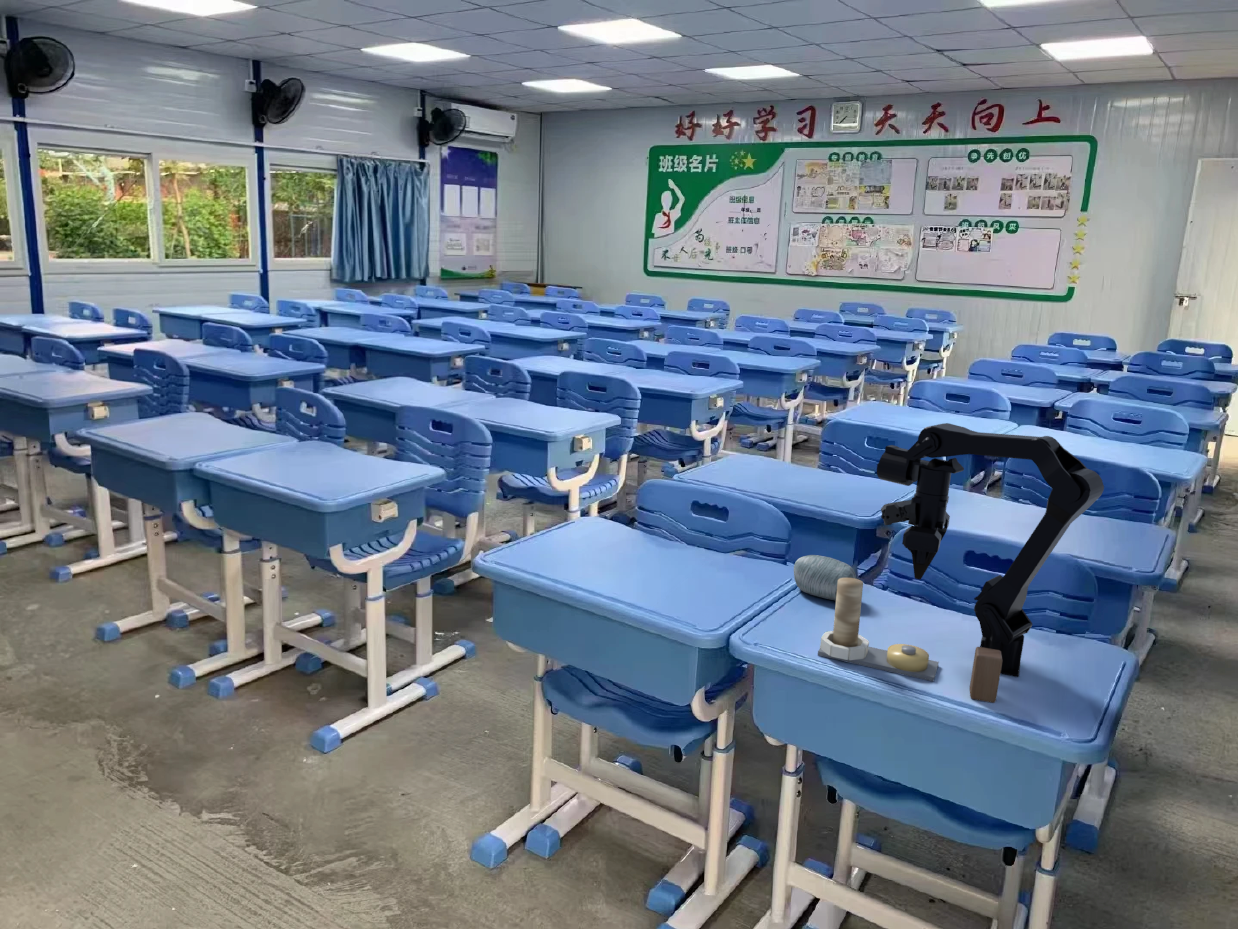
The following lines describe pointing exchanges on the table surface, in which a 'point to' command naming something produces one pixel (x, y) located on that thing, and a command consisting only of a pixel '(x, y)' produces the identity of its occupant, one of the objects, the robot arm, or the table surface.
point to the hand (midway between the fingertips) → (921, 571)
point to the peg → (847, 612)
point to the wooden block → (985, 674)
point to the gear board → (882, 657)
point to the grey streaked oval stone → (820, 575)
